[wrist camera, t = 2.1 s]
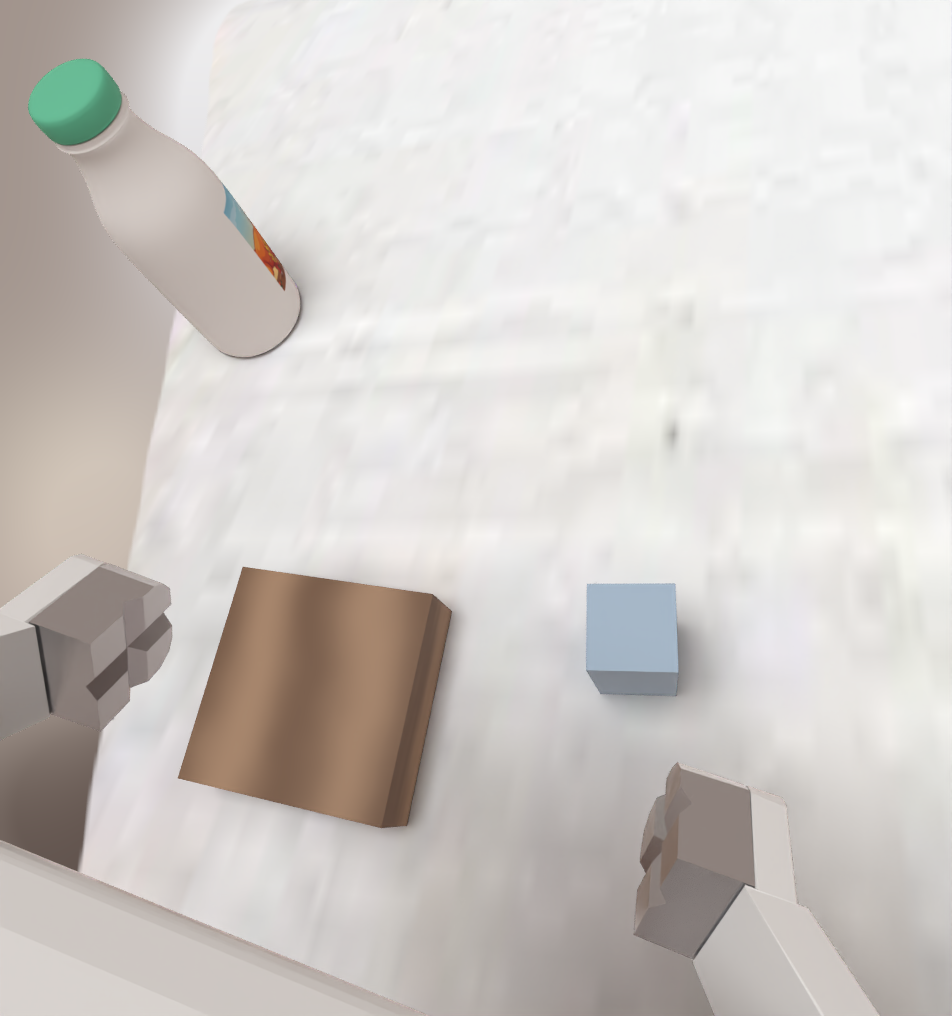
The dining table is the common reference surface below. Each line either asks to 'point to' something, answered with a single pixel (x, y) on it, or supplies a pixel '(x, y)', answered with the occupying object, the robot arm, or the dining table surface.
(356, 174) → the dining table surface
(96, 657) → the robot arm
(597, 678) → the tower block
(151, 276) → the milk bottle
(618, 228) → the dining table surface
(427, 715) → the base brick
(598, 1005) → the dining table surface
